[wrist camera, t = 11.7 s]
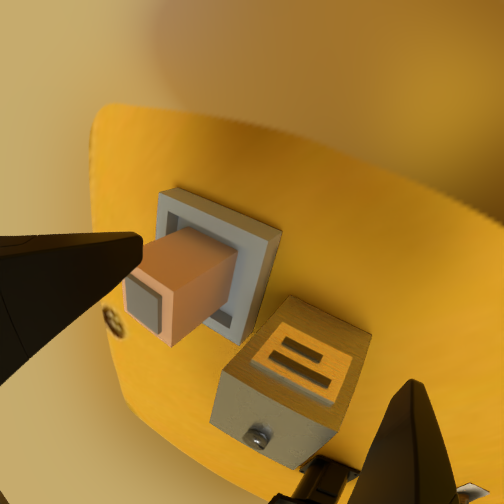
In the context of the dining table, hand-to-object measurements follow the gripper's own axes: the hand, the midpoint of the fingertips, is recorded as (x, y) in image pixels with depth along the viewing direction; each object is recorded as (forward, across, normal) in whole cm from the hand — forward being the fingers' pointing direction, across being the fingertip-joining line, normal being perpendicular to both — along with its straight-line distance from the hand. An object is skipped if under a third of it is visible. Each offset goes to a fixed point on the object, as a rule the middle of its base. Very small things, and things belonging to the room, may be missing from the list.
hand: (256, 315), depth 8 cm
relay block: (+11, +9, +8) cm, 16 cm away
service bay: (+12, +9, +8) cm, 17 cm away
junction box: (+12, -2, +11) cm, 16 cm away
